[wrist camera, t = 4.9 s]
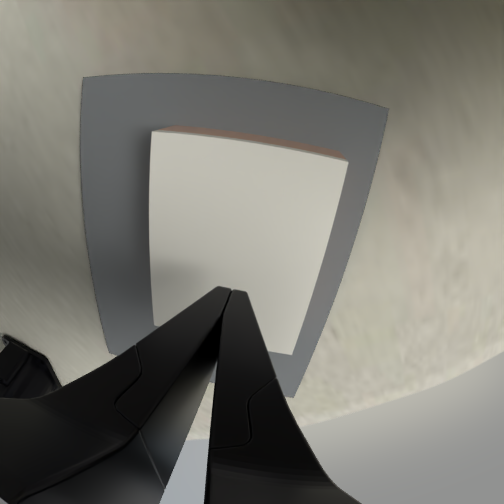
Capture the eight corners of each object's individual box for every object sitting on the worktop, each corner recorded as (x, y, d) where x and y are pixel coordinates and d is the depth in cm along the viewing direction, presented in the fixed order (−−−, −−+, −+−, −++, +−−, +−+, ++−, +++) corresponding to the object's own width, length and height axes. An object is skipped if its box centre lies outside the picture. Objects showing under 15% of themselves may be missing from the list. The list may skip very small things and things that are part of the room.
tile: (169, 298, 14) (293, 323, 14) (154, 325, 12) (291, 355, 12) (175, 125, 10) (339, 151, 10) (151, 131, 8) (348, 162, 8)
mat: (293, 392, 17) (293, 397, 17) (111, 348, 18) (109, 352, 17) (386, 108, 9) (388, 109, 9) (88, 77, 10) (83, 77, 9)
